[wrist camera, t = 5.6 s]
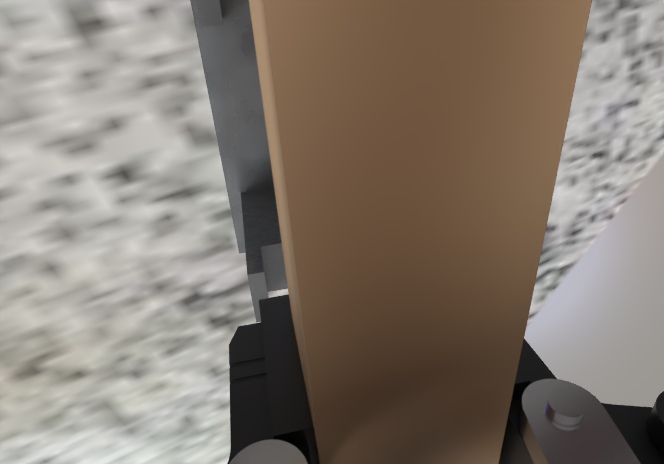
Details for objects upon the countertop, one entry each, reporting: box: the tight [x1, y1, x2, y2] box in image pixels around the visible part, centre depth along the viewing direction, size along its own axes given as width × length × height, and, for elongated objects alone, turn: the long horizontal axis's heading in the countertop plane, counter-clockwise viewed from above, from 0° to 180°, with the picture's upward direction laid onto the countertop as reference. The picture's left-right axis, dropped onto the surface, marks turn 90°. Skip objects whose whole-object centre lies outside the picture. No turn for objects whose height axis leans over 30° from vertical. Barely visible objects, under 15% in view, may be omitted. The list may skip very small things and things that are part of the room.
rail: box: [249, 0, 592, 464], centre depth 9 cm, size 3×20×3 cm, turn 4°
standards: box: [190, 0, 288, 322], centre depth 24 cm, size 7×20×10 cm, turn 4°
